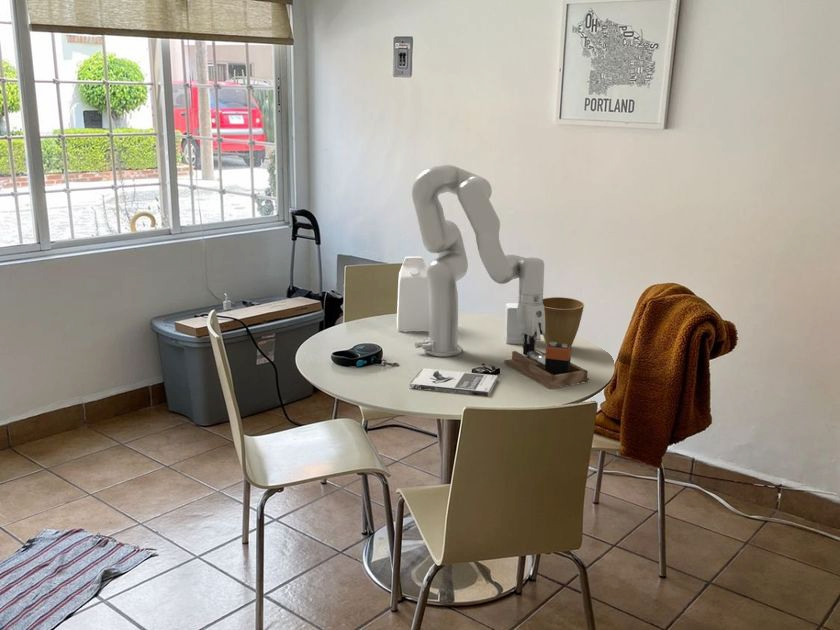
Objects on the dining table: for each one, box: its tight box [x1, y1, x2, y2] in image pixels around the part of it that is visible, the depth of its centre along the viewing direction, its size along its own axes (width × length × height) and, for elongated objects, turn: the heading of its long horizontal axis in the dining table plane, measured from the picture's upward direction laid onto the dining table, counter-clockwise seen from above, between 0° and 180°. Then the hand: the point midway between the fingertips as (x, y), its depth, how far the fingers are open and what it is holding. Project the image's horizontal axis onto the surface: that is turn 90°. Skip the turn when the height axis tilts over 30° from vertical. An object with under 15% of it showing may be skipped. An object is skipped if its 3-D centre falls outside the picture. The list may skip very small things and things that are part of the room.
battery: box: [545, 342, 572, 375], centre depth 231 cm, size 4×7×10 cm, turn 69°
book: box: [409, 367, 498, 397], centre depth 228 cm, size 23×14×2 cm, turn 74°
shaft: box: [526, 349, 546, 369], centre depth 240 cm, size 4×10×4 cm, turn 25°
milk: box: [396, 256, 429, 332], centre depth 282 cm, size 12×12×26 cm
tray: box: [503, 347, 590, 390], centre depth 238 cm, size 14×25×4 cm, turn 25°
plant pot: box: [542, 296, 585, 347], centre depth 258 cm, size 15×15×16 cm
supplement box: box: [503, 302, 524, 345], centre depth 268 cm, size 7×7×13 cm
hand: (528, 354), depth 246 cm, fingers closed
